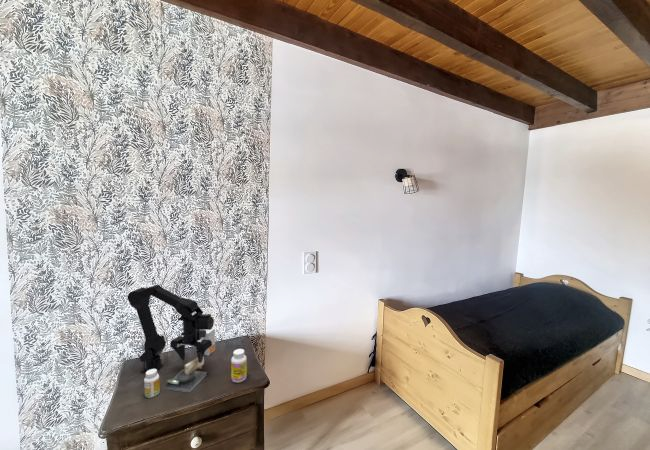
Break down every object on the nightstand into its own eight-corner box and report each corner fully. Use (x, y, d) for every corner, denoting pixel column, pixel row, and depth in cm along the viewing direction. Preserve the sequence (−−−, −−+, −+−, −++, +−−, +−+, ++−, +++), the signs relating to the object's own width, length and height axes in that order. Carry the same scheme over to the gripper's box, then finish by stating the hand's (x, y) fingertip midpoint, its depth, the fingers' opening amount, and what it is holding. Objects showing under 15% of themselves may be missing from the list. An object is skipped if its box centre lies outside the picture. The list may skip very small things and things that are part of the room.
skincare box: (208, 355, 144) (208, 333, 143) (201, 354, 145) (200, 332, 144) (215, 349, 150) (215, 328, 149) (208, 348, 151) (207, 327, 150)
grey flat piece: (164, 389, 118) (164, 381, 118) (189, 366, 135) (189, 358, 134) (190, 392, 116) (189, 384, 116) (212, 368, 133) (212, 361, 133)
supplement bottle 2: (231, 384, 122) (230, 356, 120) (231, 375, 128) (231, 348, 127) (246, 381, 123) (246, 354, 122) (246, 373, 130) (246, 346, 129)
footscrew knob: (184, 385, 118) (184, 372, 118) (173, 380, 121) (173, 367, 121) (208, 369, 129) (208, 357, 129) (197, 365, 132) (197, 353, 132)
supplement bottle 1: (159, 387, 119) (158, 366, 118) (160, 395, 115) (159, 372, 114) (144, 392, 116) (143, 370, 115) (144, 399, 112) (143, 377, 111)
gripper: (218, 323, 134) (220, 354, 135) (186, 320, 139) (187, 350, 140) (202, 333, 123) (204, 367, 124) (168, 329, 128) (170, 362, 129)
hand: (192, 361), depth 130 cm, fingers open, 9 cm apart
